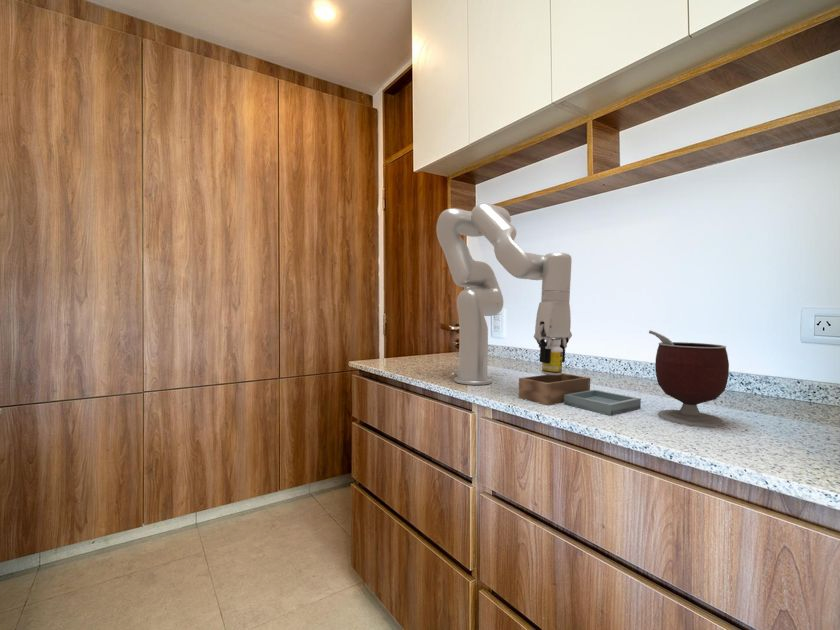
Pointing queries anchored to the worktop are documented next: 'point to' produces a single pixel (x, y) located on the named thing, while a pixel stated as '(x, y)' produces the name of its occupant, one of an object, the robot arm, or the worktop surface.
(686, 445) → the worktop surface
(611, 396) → the tray
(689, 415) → the mate gourd
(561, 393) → the holder
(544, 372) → the supplement bottle
